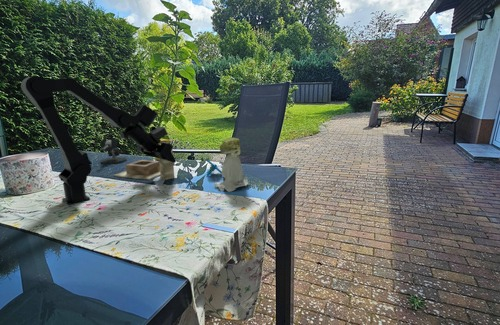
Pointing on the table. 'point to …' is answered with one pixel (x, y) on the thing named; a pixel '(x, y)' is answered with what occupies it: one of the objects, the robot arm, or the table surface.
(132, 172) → the socket
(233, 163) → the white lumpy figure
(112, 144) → the gun turret
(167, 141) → the supplement box
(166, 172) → the peg
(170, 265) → the table surface
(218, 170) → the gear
